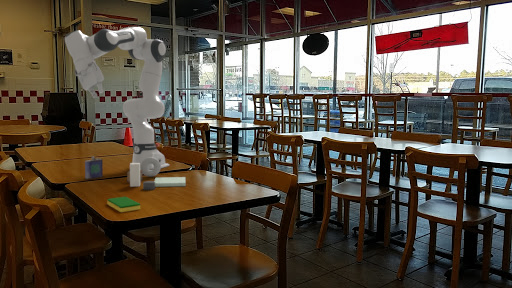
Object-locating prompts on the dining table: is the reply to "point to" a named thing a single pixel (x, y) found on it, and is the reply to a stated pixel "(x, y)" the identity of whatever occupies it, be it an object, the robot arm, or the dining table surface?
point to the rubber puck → (149, 185)
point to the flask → (93, 168)
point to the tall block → (134, 174)
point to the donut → (146, 162)
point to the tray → (170, 181)
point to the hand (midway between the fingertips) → (98, 95)
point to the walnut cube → (129, 176)
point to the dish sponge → (123, 204)
